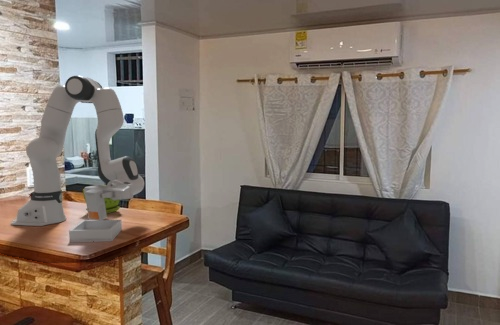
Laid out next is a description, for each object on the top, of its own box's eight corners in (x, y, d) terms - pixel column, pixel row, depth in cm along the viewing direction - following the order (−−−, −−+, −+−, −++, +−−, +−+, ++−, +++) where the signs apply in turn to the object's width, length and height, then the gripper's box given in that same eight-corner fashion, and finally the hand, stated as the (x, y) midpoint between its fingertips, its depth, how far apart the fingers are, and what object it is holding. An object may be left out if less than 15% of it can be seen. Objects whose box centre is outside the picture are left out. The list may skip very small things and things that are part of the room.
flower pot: (105, 208, 212) (104, 184, 211) (123, 211, 205) (122, 187, 204) (82, 213, 200) (81, 188, 199) (101, 217, 193) (100, 191, 192)
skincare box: (88, 219, 162) (83, 191, 159) (95, 216, 166) (91, 188, 163) (100, 221, 160) (96, 192, 157) (107, 217, 164) (103, 189, 161)
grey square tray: (69, 241, 154) (69, 230, 154) (83, 230, 170) (83, 220, 170) (111, 241, 156) (111, 229, 155) (121, 229, 172) (121, 219, 171)
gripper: (97, 180, 177) (73, 185, 164) (135, 183, 169) (114, 189, 157) (97, 194, 177) (74, 200, 164) (136, 198, 170) (114, 205, 157)
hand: (93, 195), depth 160 cm, fingers closed on skincare box, 6 cm apart
